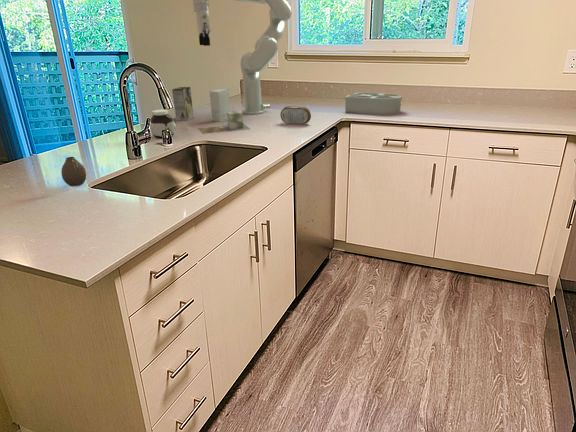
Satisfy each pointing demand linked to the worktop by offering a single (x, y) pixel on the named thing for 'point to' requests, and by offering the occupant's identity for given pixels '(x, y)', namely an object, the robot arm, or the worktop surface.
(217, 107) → the skincare box
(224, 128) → the plate
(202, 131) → the pad
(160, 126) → the spread jar
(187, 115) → the coffee box
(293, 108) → the tin
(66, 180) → the vase
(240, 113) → the sage block
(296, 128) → the worktop surface
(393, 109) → the compartment organizer box
